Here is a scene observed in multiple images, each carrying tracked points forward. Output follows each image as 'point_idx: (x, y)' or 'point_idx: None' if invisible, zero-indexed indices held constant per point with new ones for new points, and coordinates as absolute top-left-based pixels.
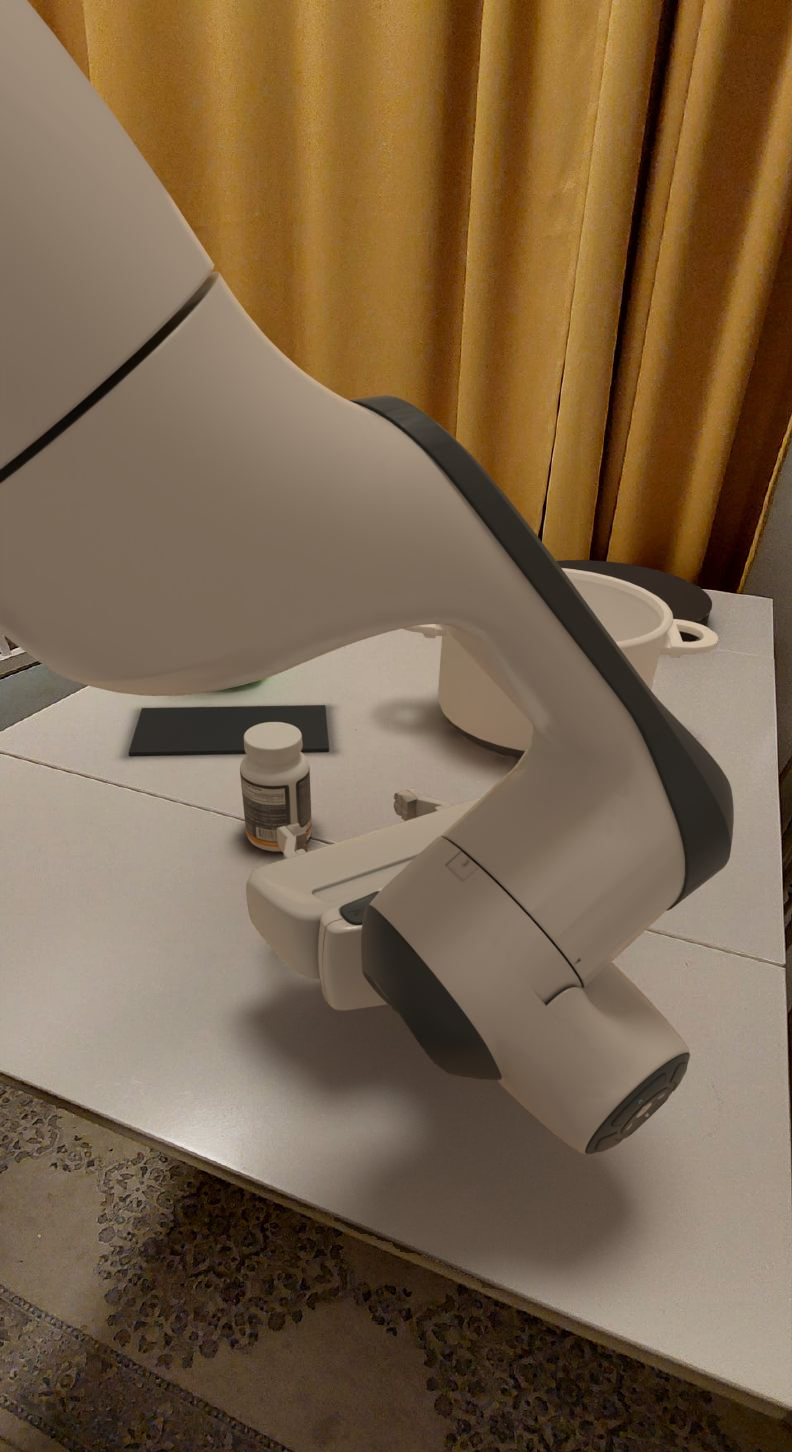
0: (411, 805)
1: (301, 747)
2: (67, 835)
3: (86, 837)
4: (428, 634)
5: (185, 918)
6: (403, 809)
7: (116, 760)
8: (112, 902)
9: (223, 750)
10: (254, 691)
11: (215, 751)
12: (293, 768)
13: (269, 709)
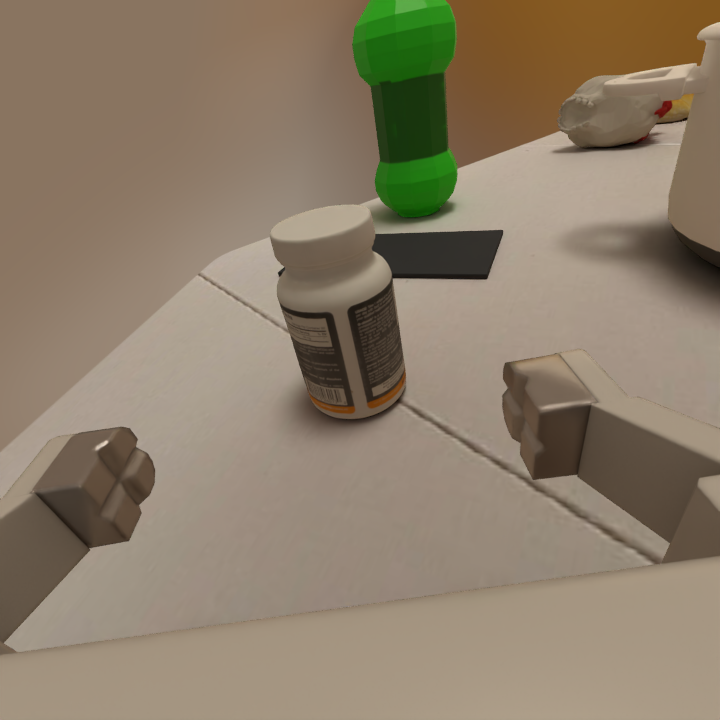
0: (561, 426)
1: (364, 243)
2: (152, 352)
3: (164, 357)
4: (668, 93)
5: None
6: (528, 429)
7: (265, 280)
8: None
9: None
10: (434, 221)
11: None
12: (344, 282)
13: (438, 235)
